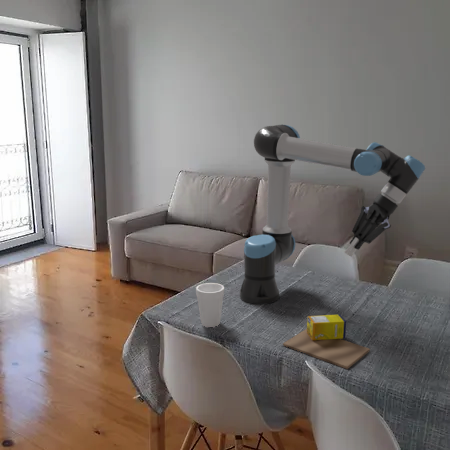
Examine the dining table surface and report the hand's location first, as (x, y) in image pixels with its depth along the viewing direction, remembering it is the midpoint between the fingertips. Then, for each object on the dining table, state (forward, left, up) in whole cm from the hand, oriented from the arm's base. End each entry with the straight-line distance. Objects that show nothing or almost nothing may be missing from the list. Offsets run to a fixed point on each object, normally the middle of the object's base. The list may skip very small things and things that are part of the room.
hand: (347, 254), depth 177 cm
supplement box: (+9, -19, -18) cm, 27 cm away
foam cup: (-30, -38, -22) cm, 53 cm away
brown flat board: (+9, -29, -21) cm, 37 cm away
